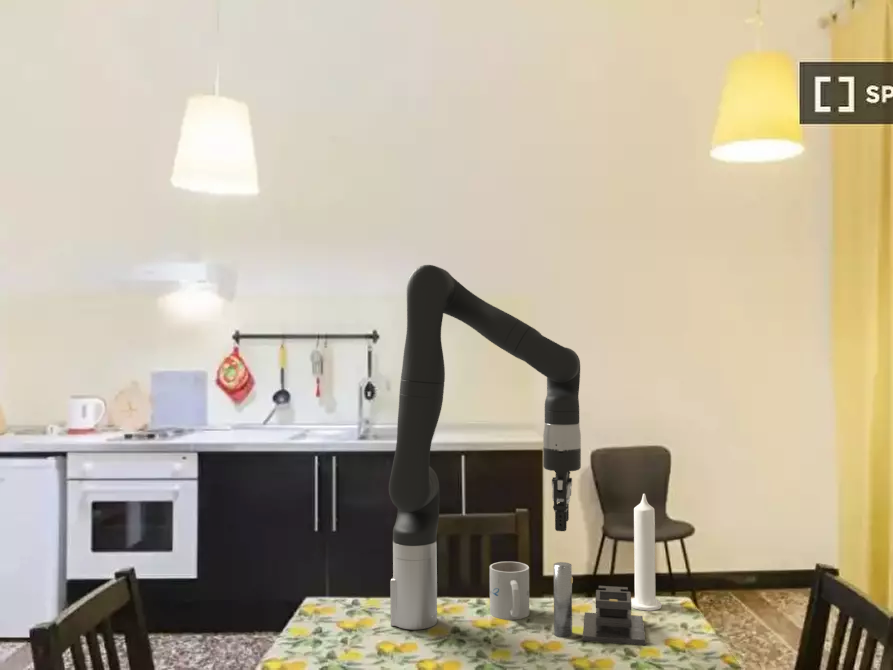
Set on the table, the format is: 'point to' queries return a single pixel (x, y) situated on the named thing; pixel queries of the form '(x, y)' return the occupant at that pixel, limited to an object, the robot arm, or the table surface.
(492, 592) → the mug
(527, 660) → the table surface
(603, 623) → the bracket
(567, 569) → the tube
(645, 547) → the candle
